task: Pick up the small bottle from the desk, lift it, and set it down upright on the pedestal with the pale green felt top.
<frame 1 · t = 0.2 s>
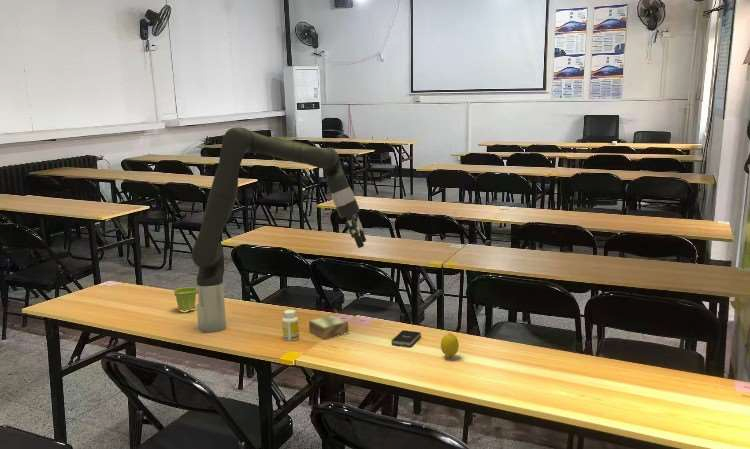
hand: (362, 244, 211), 31 cm above the table, tool tilted 20°, fingers open, 8 cm apart
external hard drive: (406, 342, 203), on the table
supplement bottle: (291, 338, 208), on the table
lemon: (449, 357, 188), on the table
plant pot: (187, 311, 243), on the table
pedestal: (328, 332, 213), on the table
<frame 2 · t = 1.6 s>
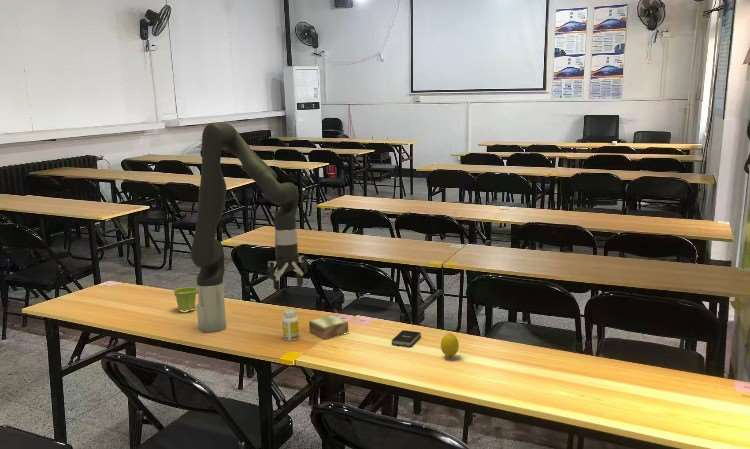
hand: (288, 288, 205), 18 cm above the table, tool pointing down, fingers open, 8 cm apart
nothing on the table moved.
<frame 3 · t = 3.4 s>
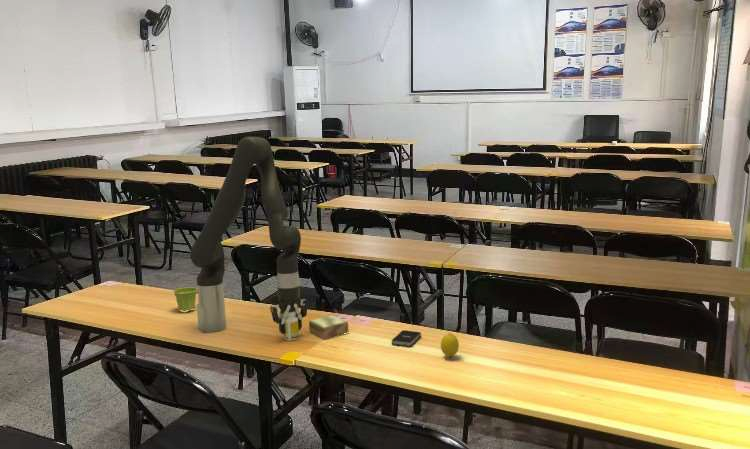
hand: (290, 331, 208), 3 cm above the table, tool pointing down, fingers closed on supplement bottle, 5 cm apart
supplement bottle: (291, 338, 208), on the table, touching gripper
everything else where it was.
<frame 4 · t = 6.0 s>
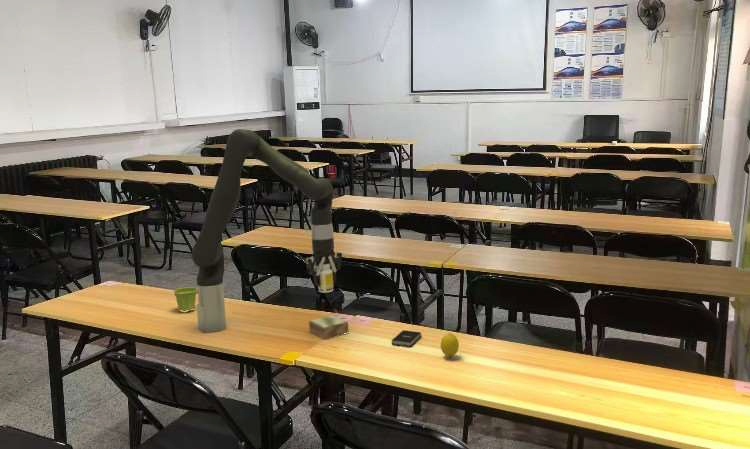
hand: (325, 283, 209), 18 cm above the table, tool pointing down, fingers closed on supplement bottle, 5 cm apart
supplement bottle: (325, 291, 209), point 15 cm above the table, touching gripper
everything else where it was.
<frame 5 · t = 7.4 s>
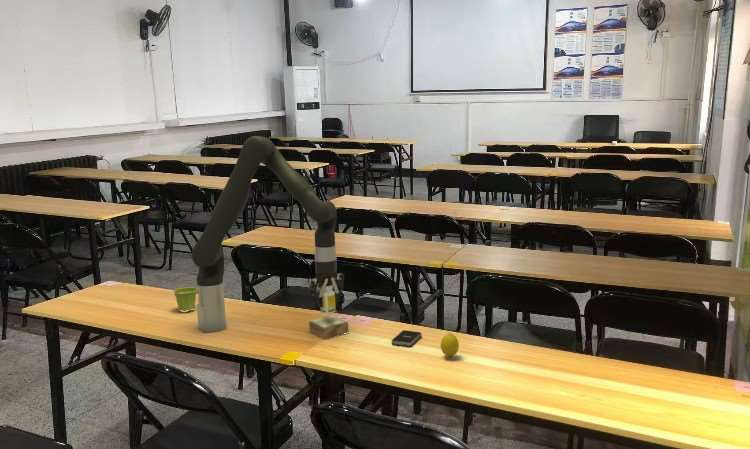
hand: (327, 305, 211), 10 cm above the table, tool pointing down, fingers closed on supplement bottle, 5 cm apart
supplement bottle: (328, 312, 211), point 8 cm above the table, touching gripper
everything else where it was.
when the fingers open (8 cm above the table, at t = 8.3 s): supplement bottle drops 1 cm, resting on pedestal.
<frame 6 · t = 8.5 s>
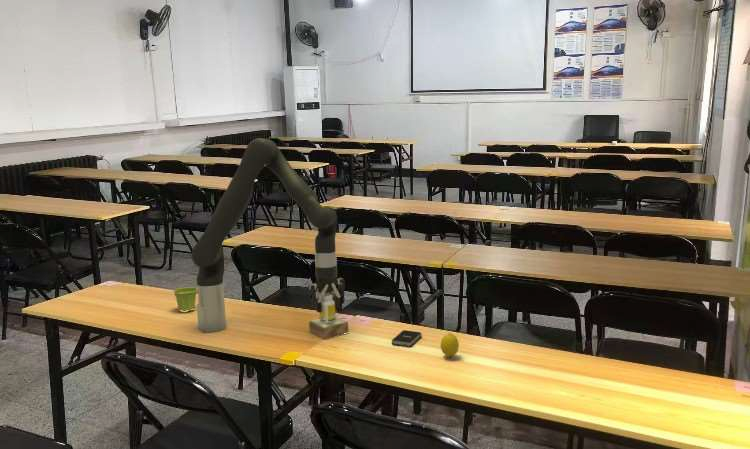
hand: (327, 309, 211), 9 cm above the table, tool pointing down, fingers open, 6 cm apart
supplement bottle: (328, 321, 212), point 4 cm above the table, touching pedestal
everything else where it was.
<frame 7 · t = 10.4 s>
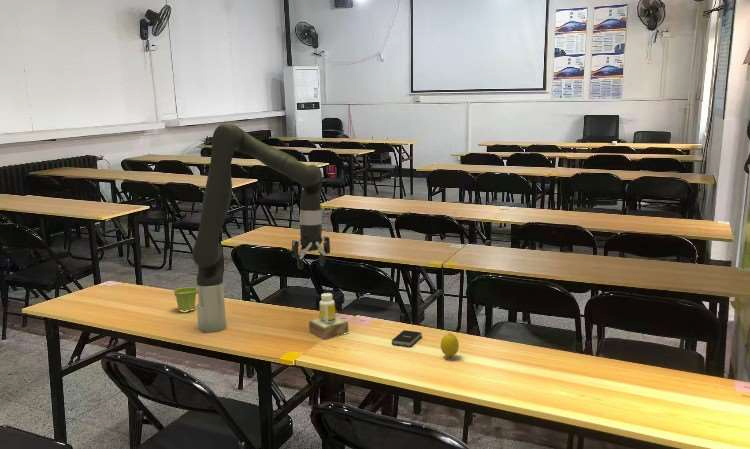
hand: (311, 267, 212), 23 cm above the table, tool pointing down, fingers open, 8 cm apart
nothing on the table moved.
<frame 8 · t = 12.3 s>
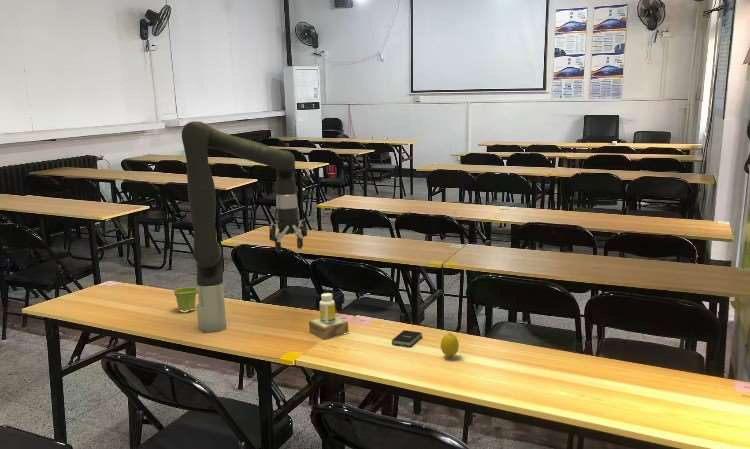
hand: (289, 250, 218), 28 cm above the table, tool pointing down, fingers open, 8 cm apart
nothing on the table moved.
at the end: supplement bottle inside the target area on the pedestal (0.1 cm from its centre), point 4.1 cm above the pedestal's base; supplement bottle tilted 0°; the gripper is holding nothing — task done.
